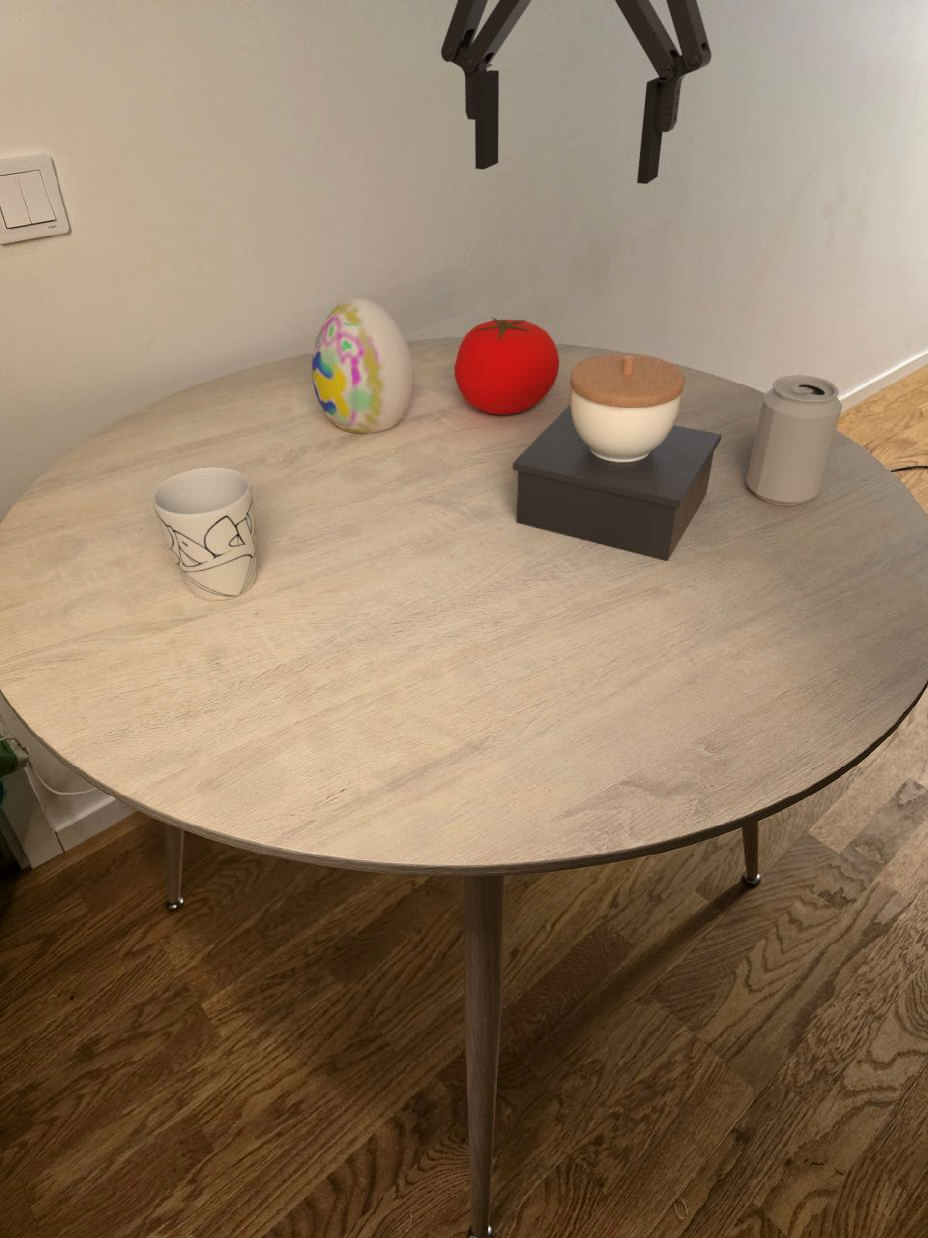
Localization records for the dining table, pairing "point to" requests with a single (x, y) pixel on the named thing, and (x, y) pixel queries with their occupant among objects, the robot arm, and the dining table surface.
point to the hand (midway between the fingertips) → (564, 173)
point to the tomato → (506, 366)
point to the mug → (210, 530)
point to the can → (793, 439)
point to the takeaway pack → (614, 488)
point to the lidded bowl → (624, 404)
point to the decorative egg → (362, 368)
